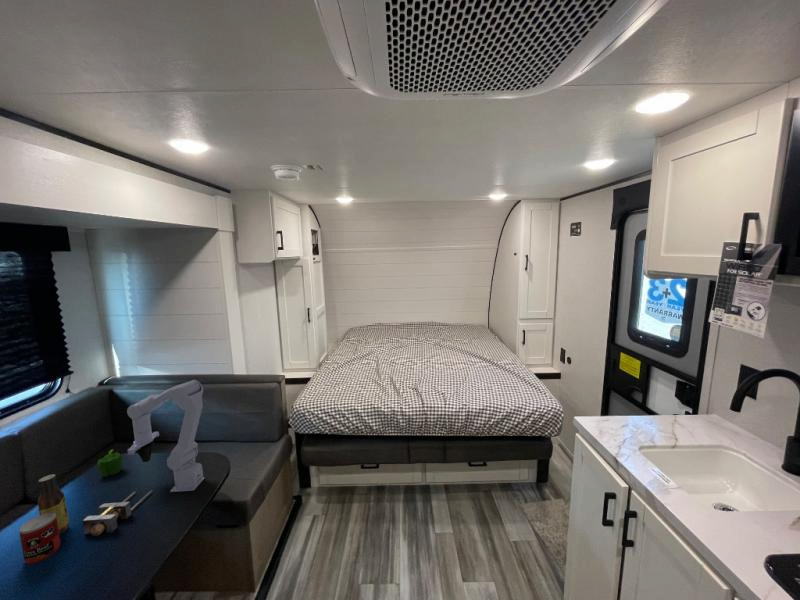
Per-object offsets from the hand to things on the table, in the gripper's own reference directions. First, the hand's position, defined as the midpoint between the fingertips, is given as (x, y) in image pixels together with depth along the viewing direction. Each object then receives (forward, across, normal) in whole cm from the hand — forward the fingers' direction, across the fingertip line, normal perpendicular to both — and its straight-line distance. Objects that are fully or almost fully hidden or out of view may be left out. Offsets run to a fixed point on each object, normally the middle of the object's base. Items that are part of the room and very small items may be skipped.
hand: (146, 461), depth 135 cm
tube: (+9, +23, +3) cm, 25 cm away
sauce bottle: (+10, +25, -13) cm, 30 cm away
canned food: (+10, +34, -8) cm, 36 cm away
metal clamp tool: (+9, +17, +3) cm, 20 cm away
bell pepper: (+10, -8, -22) cm, 26 cm away
